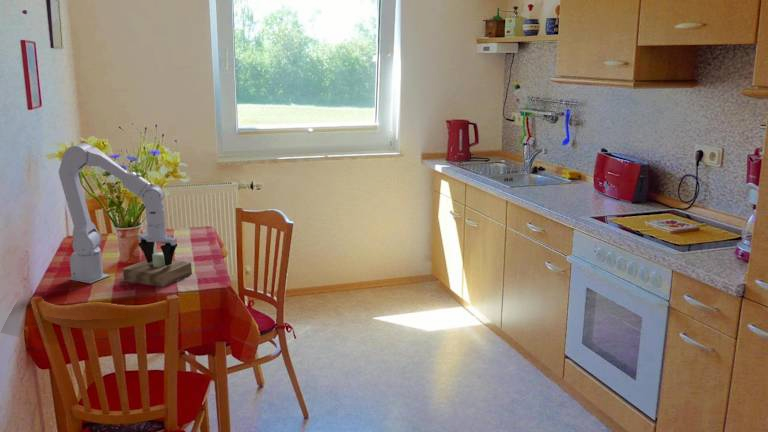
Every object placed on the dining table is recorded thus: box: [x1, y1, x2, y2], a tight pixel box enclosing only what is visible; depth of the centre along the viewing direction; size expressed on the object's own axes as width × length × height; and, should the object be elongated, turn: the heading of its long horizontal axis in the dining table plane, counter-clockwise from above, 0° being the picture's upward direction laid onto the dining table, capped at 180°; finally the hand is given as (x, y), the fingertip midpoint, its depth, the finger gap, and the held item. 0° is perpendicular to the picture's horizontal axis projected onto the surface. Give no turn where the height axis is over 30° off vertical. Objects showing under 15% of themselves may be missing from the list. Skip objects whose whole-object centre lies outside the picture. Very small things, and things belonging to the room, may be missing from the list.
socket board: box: [122, 259, 193, 288], centre depth 210 cm, size 16×14×4 cm
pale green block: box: [152, 251, 166, 268], centre depth 210 cm, size 4×4×6 cm
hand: (159, 263), depth 210 cm, fingers open, 7 cm apart
